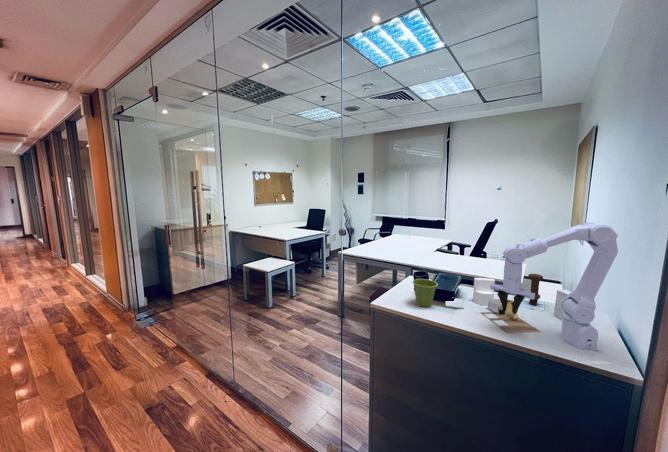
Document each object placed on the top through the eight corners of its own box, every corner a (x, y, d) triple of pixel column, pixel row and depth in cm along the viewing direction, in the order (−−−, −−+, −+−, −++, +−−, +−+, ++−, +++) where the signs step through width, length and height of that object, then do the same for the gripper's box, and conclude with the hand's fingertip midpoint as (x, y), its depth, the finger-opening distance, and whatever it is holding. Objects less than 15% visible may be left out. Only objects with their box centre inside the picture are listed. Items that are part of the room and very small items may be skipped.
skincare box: (553, 315, 120) (555, 289, 119) (562, 315, 121) (565, 289, 119) (565, 321, 114) (568, 294, 113) (575, 321, 114) (578, 294, 113)
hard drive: (464, 308, 126) (462, 298, 137) (445, 305, 129) (445, 296, 140) (464, 311, 126) (462, 301, 137) (445, 308, 129) (445, 299, 140)
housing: (515, 314, 119) (516, 305, 118) (497, 314, 118) (498, 305, 118) (505, 307, 126) (505, 299, 125) (487, 307, 125) (488, 299, 125)
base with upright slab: (475, 304, 132) (477, 281, 131) (470, 298, 141) (472, 275, 139) (496, 306, 130) (497, 282, 129) (489, 299, 139) (491, 277, 137)
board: (543, 334, 104) (544, 327, 103) (506, 335, 103) (507, 327, 103) (504, 309, 127) (504, 303, 126) (473, 309, 126) (473, 303, 126)
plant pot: (410, 307, 129) (411, 284, 128) (413, 298, 140) (413, 277, 139) (436, 311, 125) (437, 288, 123) (437, 302, 135) (438, 280, 134)
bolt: (542, 307, 129) (545, 277, 127) (530, 306, 130) (533, 276, 128) (535, 302, 135) (538, 273, 133) (524, 301, 136) (527, 273, 134)
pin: (515, 317, 103) (517, 302, 102) (508, 317, 103) (509, 302, 102) (510, 314, 106) (511, 299, 105) (503, 314, 106) (504, 299, 105)
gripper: (538, 280, 100) (535, 314, 101) (495, 271, 111) (493, 303, 112) (532, 284, 95) (529, 320, 97) (488, 275, 106) (486, 307, 108)
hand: (509, 311), depth 104 cm, fingers closed on pin, 3 cm apart
